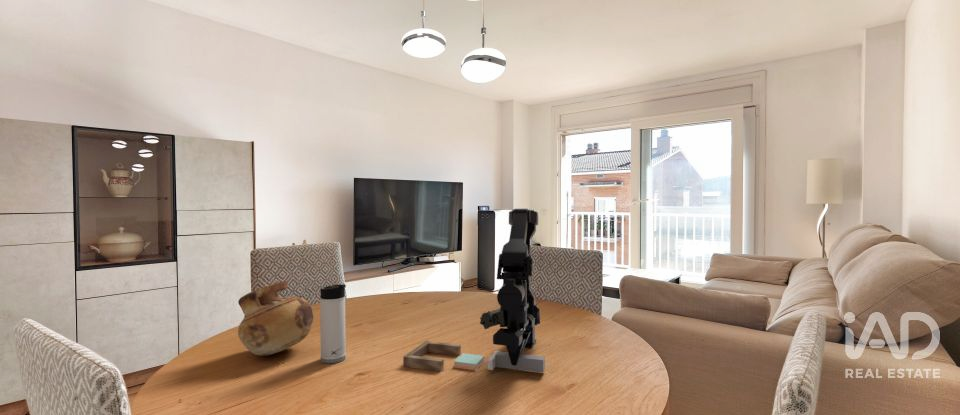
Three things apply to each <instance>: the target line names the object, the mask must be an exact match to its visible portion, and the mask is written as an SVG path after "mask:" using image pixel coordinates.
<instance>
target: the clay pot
mask: <svg viewBox="0 0 960 415" xmlns="http://www.w3.org/2000/svg"><path fill="white" fill-rule="evenodd" d="M288 288H289V284H288V281H286V280H282V281H279V282H274V283H273V284H270V285H267V286H263V287H261V288H258V289H256V290H253V291H251V292H248V293H246V294H245V295H242V296H241V297H240V298H239V299H238V302H237V303H238V305H239V307H240V308H241V310H242V313H243V315H244V316H243V319H242V320H241V322H240V323H239V324H238V329H237V336H238V338H239V340H240V342H241V344H242V345H243V347H245V348H246V349H247V350H248V351H249V352H250V353H252V354H254V355H256V356H262V357H265V356H272V355H274V354H277V353H280V352H283V351H285V350H286V349H289V348H291V347H294V346H295V345H297V344H299V343H300V342H302V341H303V340H304V339H306V337H308V335H309V333H310V332H311V331H312V327H313V323H314V312H313V311H314V310H313V308H312V306H311V304H310V303H309V302H308V301H307V300H306V299H305V298H303V297H301V296H300V297H299V296H286V297H281V296H280V295H279V293H280V292H282V291H285V290H286V289H288Z"/></svg>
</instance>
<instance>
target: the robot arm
mask: <svg viewBox="0 0 960 415" xmlns="http://www.w3.org/2000/svg"><path fill="white" fill-rule="evenodd" d="M508 225H510V233H509V239H508V242H506V243H505V244H504V245H503V247H502V249H501V253H499V255H498V262H497V270H496V271H497V273H496V279H497V280H502V286H501V287H500V288H499V290H498V292H497V295H496V299H497V302H498V305H499V306H500V308H498V309H493V310H491V311H489V310H488V311H487V312H483V313H482V314H481V316H480V318H479V319H480V322H479V323H480V325H481V326H483V328H484V330H488V329H489V328H491V327H495V326H498V325H499V329H498V330H496V332H495V333H493V335H492V344H493V345H495V346H496V345H497V346H506V350H507V353H508V354H509V357H510V361H511V364H512V365H516V364H517V362H518V359H519V356H520V354H523V351H524V349H525V348H530V349H532V348H533V347H534V346H535V344H536V343H537V339H536V326H537V325H540V324H541V312H540V308H539V307H538V304H537V303H536V297H535V295H534V293H533V292H532V290H531V277H533V266H534V259H533V258H532V255H531V254H532V253H531V248H532V247H531V245H532V244H531V240H532V238H533V236H534V235H535V233H536V232H537V226H538V225H539V213H538V211H535V209H528V208H514V209H511V210H510V211H508Z"/></svg>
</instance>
